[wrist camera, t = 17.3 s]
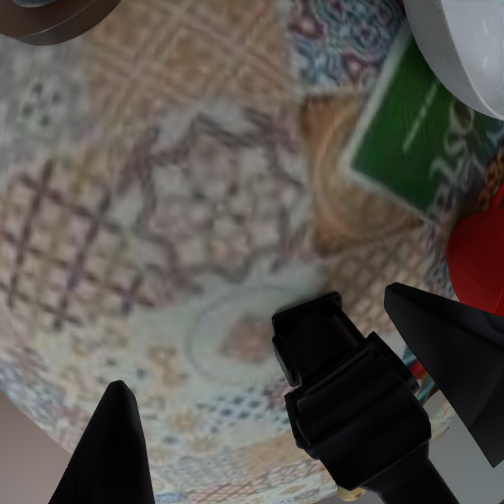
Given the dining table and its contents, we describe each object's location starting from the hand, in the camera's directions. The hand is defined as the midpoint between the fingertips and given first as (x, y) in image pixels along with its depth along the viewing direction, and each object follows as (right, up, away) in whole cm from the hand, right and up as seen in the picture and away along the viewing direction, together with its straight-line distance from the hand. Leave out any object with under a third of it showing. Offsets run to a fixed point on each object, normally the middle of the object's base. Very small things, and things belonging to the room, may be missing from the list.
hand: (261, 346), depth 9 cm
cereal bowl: (+17, +23, +9) cm, 30 cm away
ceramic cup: (+24, +6, +20) cm, 32 cm away
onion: (+24, -57, +53) cm, 81 cm away
